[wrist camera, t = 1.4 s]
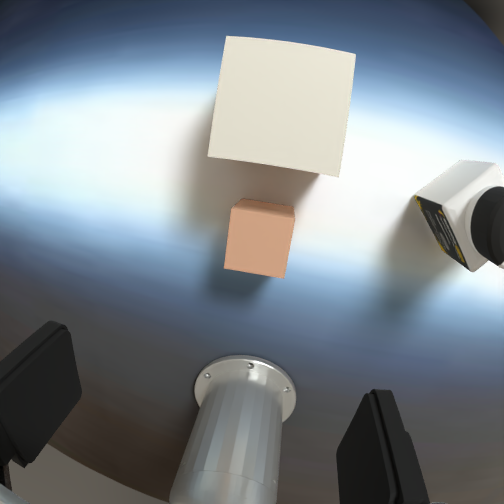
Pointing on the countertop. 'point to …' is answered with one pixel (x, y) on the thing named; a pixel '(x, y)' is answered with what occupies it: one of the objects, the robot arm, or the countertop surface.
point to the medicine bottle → (467, 212)
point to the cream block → (282, 104)
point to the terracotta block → (259, 238)
